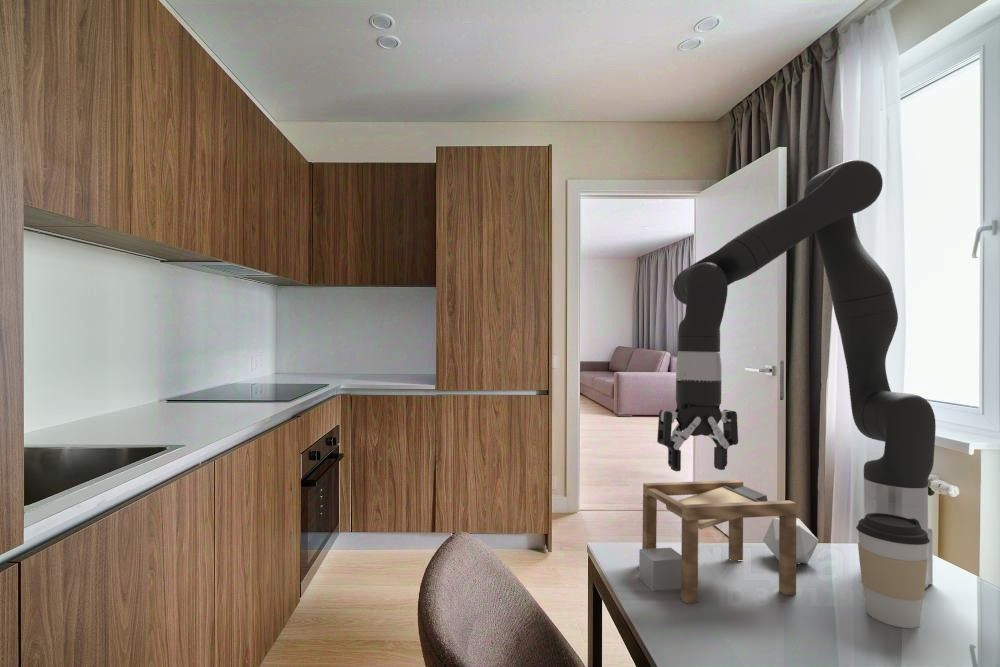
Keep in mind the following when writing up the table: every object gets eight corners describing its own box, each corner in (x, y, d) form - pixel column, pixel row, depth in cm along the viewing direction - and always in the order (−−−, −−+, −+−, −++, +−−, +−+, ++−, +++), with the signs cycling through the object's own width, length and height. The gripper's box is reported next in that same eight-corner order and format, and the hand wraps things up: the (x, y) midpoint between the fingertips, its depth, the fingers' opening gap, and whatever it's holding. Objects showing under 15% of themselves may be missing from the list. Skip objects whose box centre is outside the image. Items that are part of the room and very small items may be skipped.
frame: (737, 558, 101) (738, 480, 101) (796, 594, 86) (796, 503, 86) (642, 564, 97) (643, 483, 97) (686, 603, 82) (687, 507, 82)
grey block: (670, 547, 92) (639, 549, 91) (686, 558, 88) (653, 560, 86) (670, 575, 92) (639, 578, 91) (685, 588, 87) (652, 591, 86)
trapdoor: (703, 540, 85) (699, 523, 85) (668, 518, 96) (665, 503, 96) (780, 515, 88) (776, 498, 88) (738, 497, 99) (735, 482, 99)
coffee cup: (864, 623, 77) (864, 521, 77) (849, 597, 85) (849, 505, 86) (940, 637, 73) (940, 530, 74) (917, 608, 82) (916, 512, 82)
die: (815, 578, 94) (832, 530, 97) (770, 550, 95) (789, 504, 99) (791, 575, 101) (807, 531, 105) (750, 550, 103) (767, 507, 106)
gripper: (721, 376, 97) (720, 464, 96) (651, 375, 94) (649, 466, 93) (748, 379, 89) (747, 473, 89) (672, 378, 87) (671, 476, 86)
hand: (697, 469), depth 91 cm, fingers open, 8 cm apart
